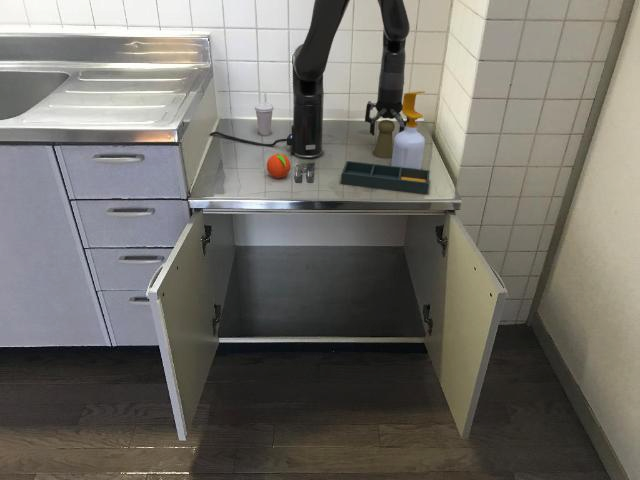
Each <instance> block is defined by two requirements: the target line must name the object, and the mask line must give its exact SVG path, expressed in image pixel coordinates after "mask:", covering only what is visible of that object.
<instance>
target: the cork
mask: <svg viewBox="0 0 640 480" xmlns="http://www.w3.org/2000/svg"><path fill="white" fill-rule="evenodd" d="M395 125H396V124H395V123H394V121H392V120H391V119H382V120H380V121H379V123H378V125H377V130H378V135H377V139H376V142H375V143H376V144H375V146H374V151H373V154H374V155H375V156H376V157H378V158H392V154H393V146H394V143H393V132H394V131H395V128H396V126H395Z"/></svg>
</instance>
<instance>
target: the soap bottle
mask: <svg viewBox="0 0 640 480" xmlns="http://www.w3.org/2000/svg"><path fill="white" fill-rule="evenodd" d="M418 94H419V95H420V94H426V91H425V90H424V91H423V90H422V91H412V92H405V93H404V94H403V97H402V105H403V106H402V111H401V113H402V114H403V116H406V117H407V116H408V119H410V120H409V122H407V123H406V126H405V128H404V131H402V132H400V133H399V132H398V133H397V134H396V135H395V137H394V139H393V154H392V156H391V164H390V166H396V167H405V168H413V169H422V164H423V158H424V157H423V156H424V151H425V144H426V140H425V137H424V136H423V135H422V134H421V133H420V132H418V122H416V121H417V120H418V119H421V118H423V114H421V113H420V112H417V111H416V109H415V105H416V98H417V95H418Z"/></svg>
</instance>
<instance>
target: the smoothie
mask: <svg viewBox="0 0 640 480" xmlns="http://www.w3.org/2000/svg"><path fill="white" fill-rule="evenodd" d="M254 110H255V114H256V121H257V126H258V132H259V135H260V136H269V135H270V134H271V129H272V121H273V120H272V119H273V111H274V105H273V104H272V103H268V102H267V93H266V92H265V93H264V102H261V103H257V104H255V105H254Z"/></svg>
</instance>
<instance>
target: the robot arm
mask: <svg viewBox="0 0 640 480" xmlns="http://www.w3.org/2000/svg"><path fill="white" fill-rule="evenodd" d="M350 2H351V0H314V3H313V8H312V15H311V21H310V25H309V29H308V32H307V34H306V37H305V39H304V41H303V43H301V44H300V45H298V46H297V48H296V49H295V50H294V52H293V55H292V98H293V99H292V103H293V104H292V112H293V113H292V118H293V120H292V125H291V133H289V134H288V136H287V137H286V138H281V139H276V140H275V141H273V143H262V142H257V141H253V140H247V139H243V138H239V137H236V136H232V135H228V134H225V133H222V132H219V131H213V132H211V133H209V136H211V137H212V136H214V135H219V136H221V137H224V138H226V139H230V140H234V141H238V142H242V143H246V144H252V145H255V146H261V147H274V146H275V145H277V144H278V143H281V142H286V146H287V147H291V155H292V156H295V157H297V158H302V159H315V158H319V157H320V156H322V154H323V130H324V129H323V127H324V126H323V125H324V99H325V98H324V97H325V95H324V94H325V91H324V73H325V72H326V69H327V64H328V60H329V57H330V53H331V49H332V46H333V42H334V39H335V36H336V34H337V32H338V29H339V27H340V25H341V23H342V21H343V18H344V16H345V13H346V12H347V9H348V7H349V4H350ZM376 2H377V4H378V7H379V9H380V15H381V20H382V21H381V22H382V27H383V28H382V54H381V60H380V72H379V76H378V85H377V86H378V87H377V98H376V99H377V100H376V102H372V100H371V101H370V100H368V101H367V103H366V107H365V116H364V122H365V123H369V133H370V134H371V136H373V137H374V136H375V133H376V131H375V130H376V122H377V121H379V119H380V118H382V119H389V120H393V119H395V121H396V122H397V123H398V124H399V130H398V134H399V133H400V132H402V131H405V128H406V123H407V122H409V120H410V119H408V116H406V120H404V118H403V116H402V114H401V113H402V106H403V98H404V86H405V67H406V61H407V60H406V58H407V56H406V44H407V43H406V42H407V37H408V36H409V34H410V29H411V27H410V21H409V17H408V14H407V10H406V6H405V2H404V0H376ZM374 108H375V110H376V111H377V112H376V113H375V114H374V116H373V117H371V111H373V110H374Z"/></svg>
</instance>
